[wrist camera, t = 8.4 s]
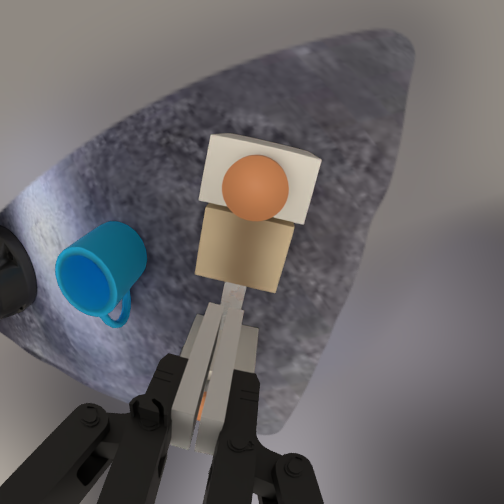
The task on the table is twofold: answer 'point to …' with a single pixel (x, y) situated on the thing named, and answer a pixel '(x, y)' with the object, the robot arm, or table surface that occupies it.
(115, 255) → the mug
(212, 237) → the block
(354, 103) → the table surface
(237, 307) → the rail
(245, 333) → the cabinet
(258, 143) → the cabinet
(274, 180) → the plunger
